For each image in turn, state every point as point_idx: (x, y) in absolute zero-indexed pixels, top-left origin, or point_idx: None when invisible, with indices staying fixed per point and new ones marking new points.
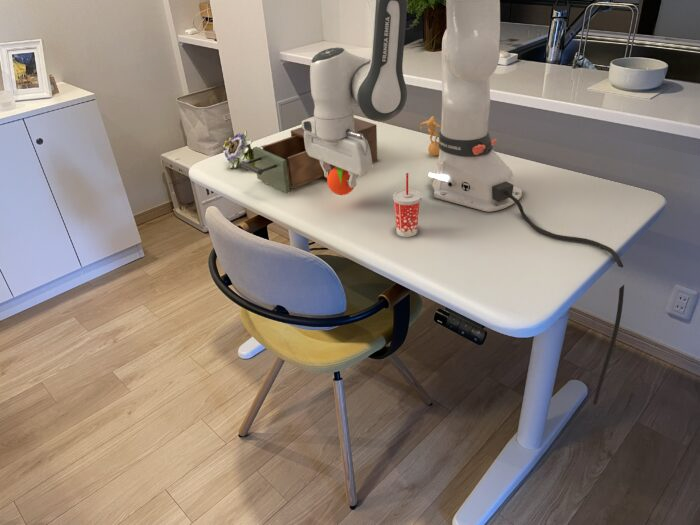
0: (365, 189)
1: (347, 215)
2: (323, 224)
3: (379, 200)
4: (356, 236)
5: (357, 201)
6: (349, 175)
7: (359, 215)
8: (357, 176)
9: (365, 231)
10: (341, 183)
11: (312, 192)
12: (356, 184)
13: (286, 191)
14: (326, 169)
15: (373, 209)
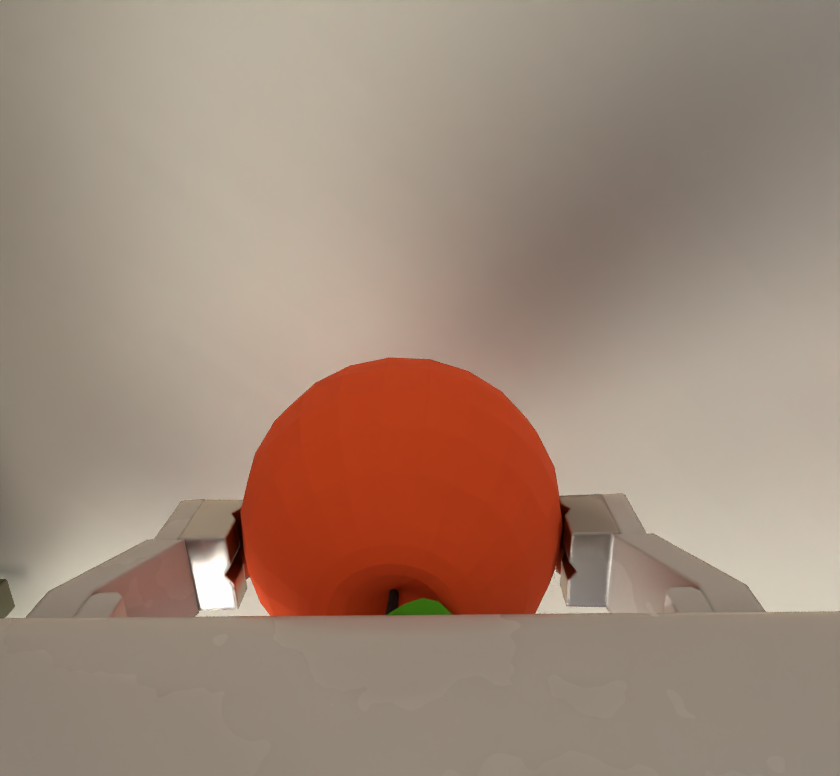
0: (316, 74)
1: (558, 481)
2: None
3: (579, 143)
4: (792, 600)
5: (448, 292)
6: (544, 559)
7: (626, 427)
8: (693, 562)
9: (803, 533)
10: None
11: (73, 435)
12: (625, 496)
13: (4, 615)
14: (183, 605)
15: (647, 295)
